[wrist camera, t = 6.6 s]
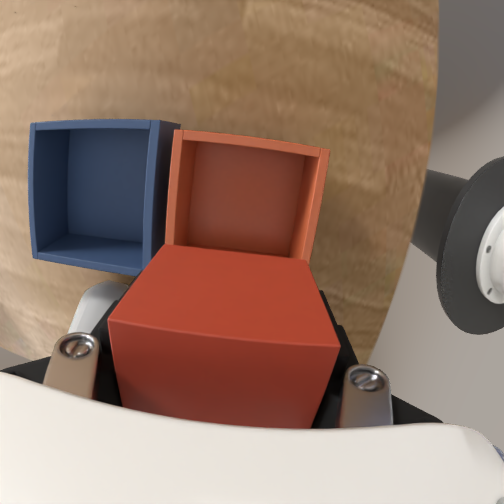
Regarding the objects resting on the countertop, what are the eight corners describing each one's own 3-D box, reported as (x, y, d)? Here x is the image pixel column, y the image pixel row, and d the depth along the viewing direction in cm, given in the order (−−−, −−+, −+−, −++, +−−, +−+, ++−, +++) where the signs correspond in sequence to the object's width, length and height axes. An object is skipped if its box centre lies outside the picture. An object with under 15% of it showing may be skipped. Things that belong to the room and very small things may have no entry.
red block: (306, 259, 11) (341, 345, 6) (283, 368, 13) (294, 467, 8) (163, 243, 11) (106, 318, 6) (164, 355, 12) (132, 449, 8)
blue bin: (180, 124, 22) (160, 120, 17) (170, 250, 25) (150, 278, 20) (68, 122, 22) (30, 122, 16) (66, 236, 25) (32, 258, 20)
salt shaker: (156, 320, 28) (120, 436, 16) (106, 328, 28) (57, 432, 16) (132, 266, 26) (70, 374, 14) (80, 278, 26) (9, 375, 14)
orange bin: (313, 147, 23) (330, 149, 17) (293, 260, 26) (303, 291, 21) (191, 131, 22) (174, 129, 17) (181, 246, 25) (163, 274, 20)
